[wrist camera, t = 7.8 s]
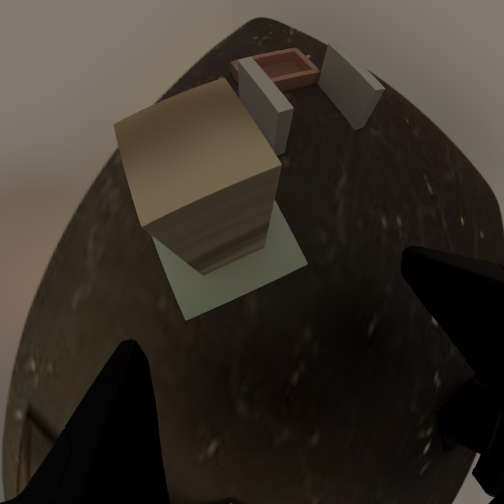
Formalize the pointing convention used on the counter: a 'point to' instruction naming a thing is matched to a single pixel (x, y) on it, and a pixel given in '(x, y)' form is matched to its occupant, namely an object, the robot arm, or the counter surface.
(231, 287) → the green mat
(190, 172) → the beech post
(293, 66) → the tray
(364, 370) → the counter surface
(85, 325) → the counter surface
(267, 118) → the channel
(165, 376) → the counter surface
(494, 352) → the robot arm
